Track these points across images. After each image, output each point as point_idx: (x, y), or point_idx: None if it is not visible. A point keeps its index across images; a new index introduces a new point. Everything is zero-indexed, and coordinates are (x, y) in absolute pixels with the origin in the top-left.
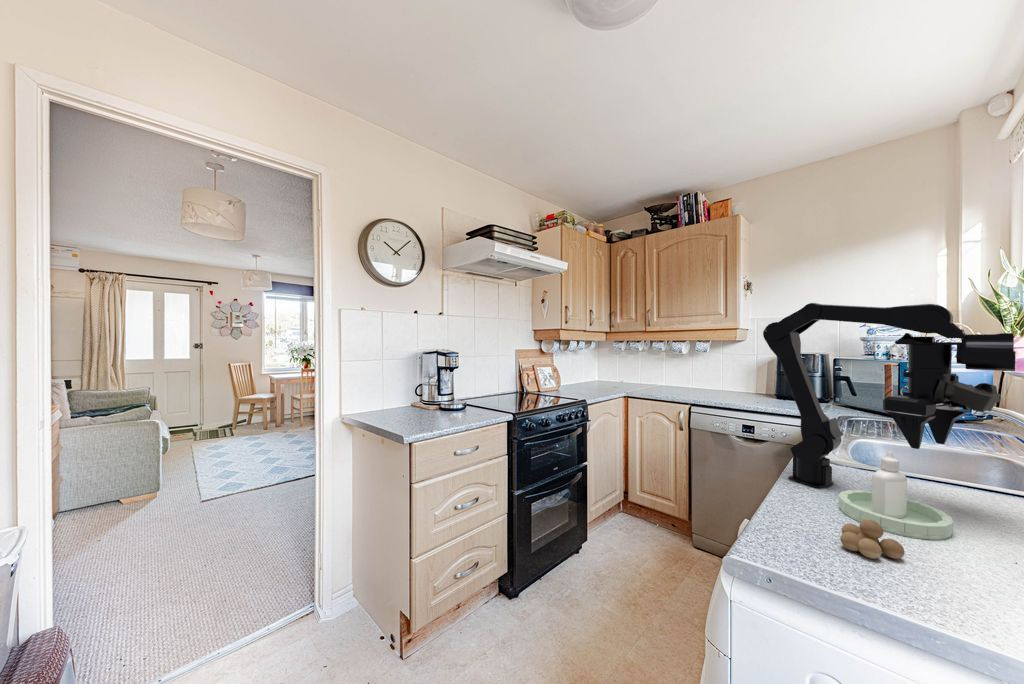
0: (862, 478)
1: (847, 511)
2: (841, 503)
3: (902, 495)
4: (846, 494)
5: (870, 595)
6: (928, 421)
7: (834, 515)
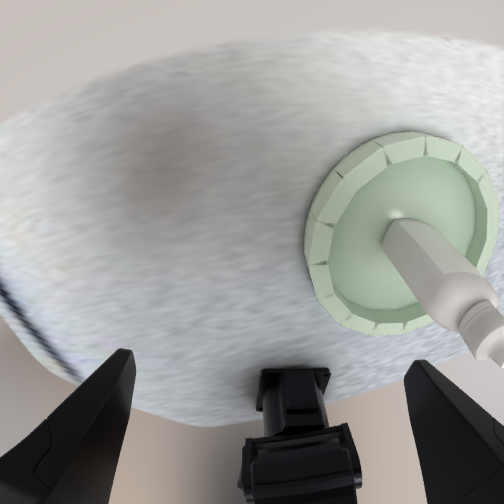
0: (135, 357)
1: None
2: None
3: (447, 249)
4: (408, 323)
5: None
6: (108, 501)
7: None
